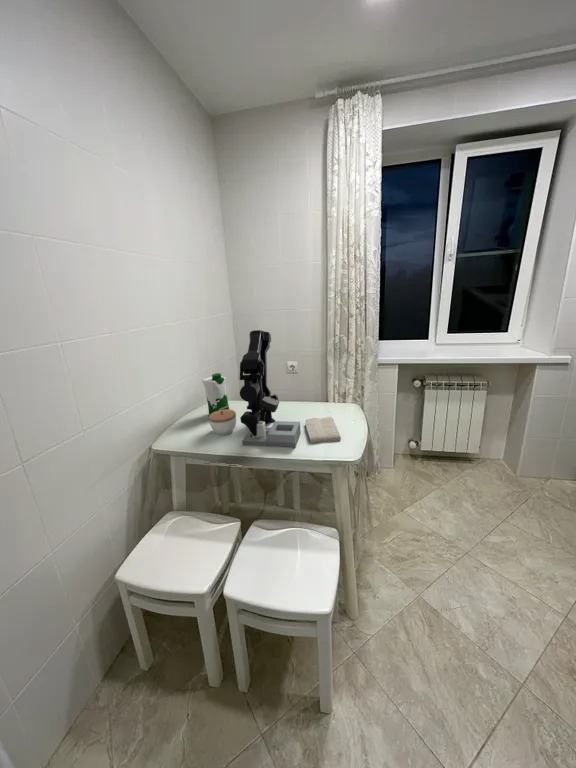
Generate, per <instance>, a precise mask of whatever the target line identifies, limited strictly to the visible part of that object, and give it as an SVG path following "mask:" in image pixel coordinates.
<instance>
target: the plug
mask: <svg viewBox="0 0 576 768" xmlns="http://www.w3.org/2000/svg"><path fill="white" fill-rule="evenodd" d="M266 428H267V427H266V424H265V422H263V421H260V422H259V423H258V424H257V436H253V437H264V438H266V436H267V435H266Z"/></svg>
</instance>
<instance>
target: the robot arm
mask: <svg viewBox="0 0 576 768" xmlns="http://www.w3.org/2000/svg"><path fill="white" fill-rule="evenodd" d="M271 342H272V335H271V333H270V332H269V331H264V330H262V329H257V330H251V331H249V344H248V348H247V353H245V354H244V355H243V356H242V358H241V361H240V363H239V381H243V383H244V384H242V387H241V388H240V390H239V397H241V399H242V400H243V401H244V402H247V406H246V409H247V410H249V411H244V413H243V414H242V415H241V416H240V418H239V419H240V423H241V424H243V425H245V426H246V427H247V428H248V431H249V430H250V431H251V433H252V434H253V436H257V424H258V423H259V422H260V421H263V422H265V425H269V424H271V423H272V424H273V423H274V422H275V421H276V420H275V419H274V418H273V416H272V413H276V411H277V409H278V407H279V404H280V399H279V396H278V394H275V393H274V394H272V392H271V390H270V387H269V386H268V364H267V363H268V361H267V358H268V357H267V353H268V351H269V350H270V348H271V347H270V346H271Z"/></svg>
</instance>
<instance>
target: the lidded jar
mask: <svg viewBox="0 0 576 768" xmlns="http://www.w3.org/2000/svg"><path fill="white" fill-rule="evenodd" d="M208 419H209V420H208V421H209V424H210V427H211V429H212V431H214V433H216V434H217V433H218V434H217V435H219V436H226V435H230V434H232V432H233V431H234V429H235V428H236V425H237V413H236V411H235V410H233V409H229V410H228V409H225V410H219V411H215V412H213V413H211V414H210V415H209V414H208Z"/></svg>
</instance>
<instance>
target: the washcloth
mask: <svg viewBox="0 0 576 768" xmlns="http://www.w3.org/2000/svg"><path fill="white" fill-rule="evenodd" d="M304 424H305V429H306V433H307V436H308V441H309V443H312V444H315V443H321V442H322V443H323V442H335V441H337V440H338V441H341V439H342V438H341V434H340V432H339V430H338V428H337V425H336V423H335V421H334V418H333V417H331V416H327V417H326V416H325V417H321V418H316V417H312V418H306V419H305V423H304Z"/></svg>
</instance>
